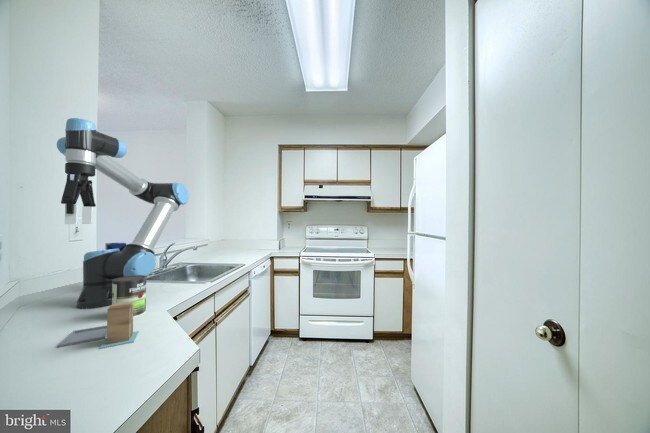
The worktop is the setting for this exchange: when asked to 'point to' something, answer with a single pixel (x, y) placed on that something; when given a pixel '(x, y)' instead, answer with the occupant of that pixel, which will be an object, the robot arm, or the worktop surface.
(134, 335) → the teal pad
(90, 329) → the gray tray
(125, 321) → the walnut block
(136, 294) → the coffee can
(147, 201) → the robot arm
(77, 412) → the worktop surface
